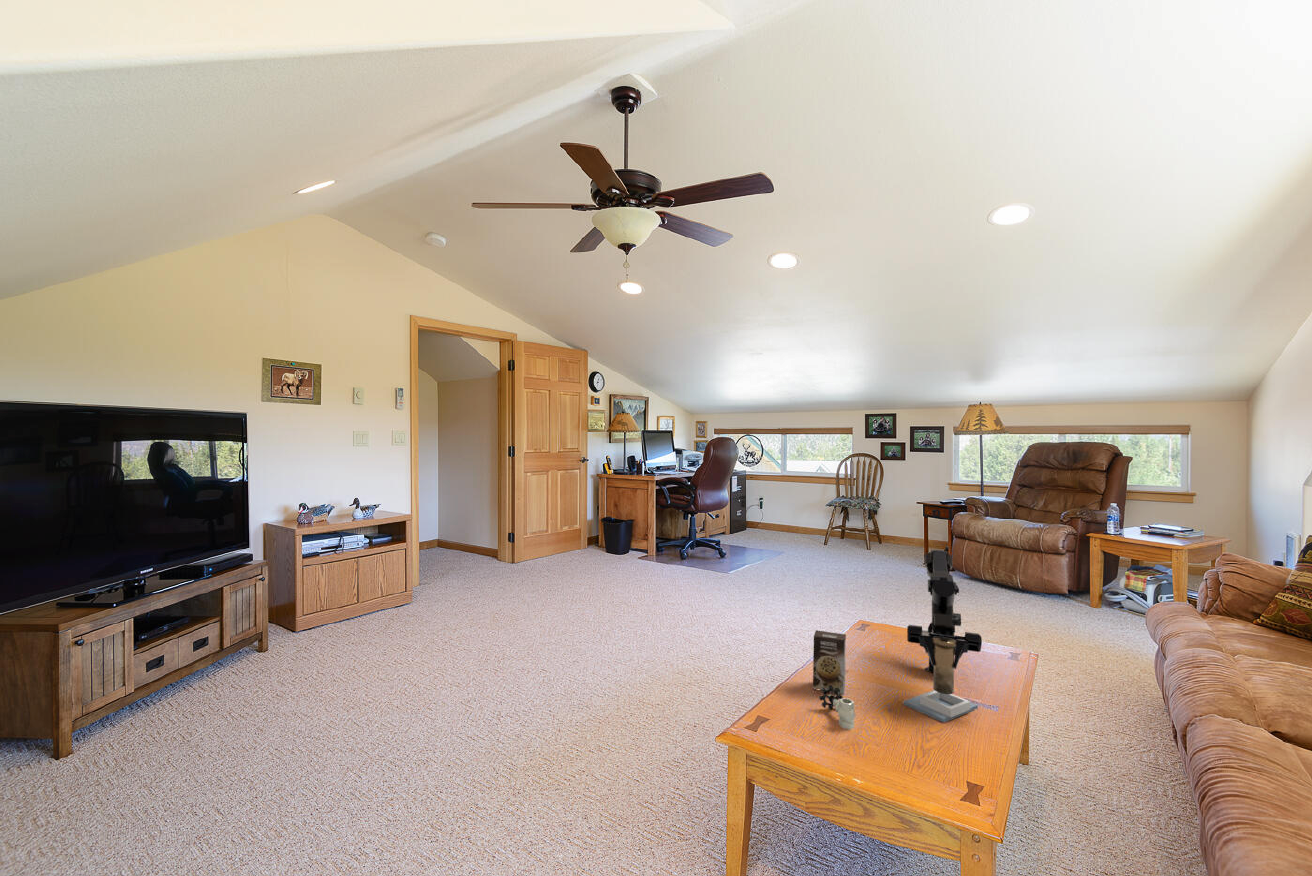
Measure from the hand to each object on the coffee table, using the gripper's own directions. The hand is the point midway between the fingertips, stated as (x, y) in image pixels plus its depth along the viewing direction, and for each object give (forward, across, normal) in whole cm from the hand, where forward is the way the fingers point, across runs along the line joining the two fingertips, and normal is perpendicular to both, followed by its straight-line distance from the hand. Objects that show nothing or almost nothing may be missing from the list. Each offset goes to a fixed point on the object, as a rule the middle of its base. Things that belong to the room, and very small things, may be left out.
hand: (944, 666), depth 156 cm
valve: (+21, -26, -3) cm, 33 cm away
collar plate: (+6, -1, +11) cm, 13 cm away
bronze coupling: (+4, 0, +6) cm, 7 cm away
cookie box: (+8, -31, +10) cm, 33 cm away
